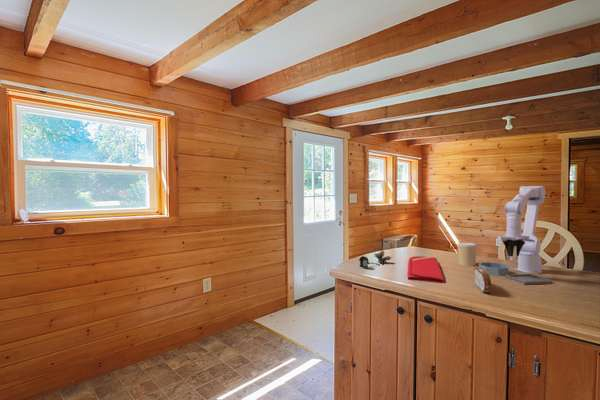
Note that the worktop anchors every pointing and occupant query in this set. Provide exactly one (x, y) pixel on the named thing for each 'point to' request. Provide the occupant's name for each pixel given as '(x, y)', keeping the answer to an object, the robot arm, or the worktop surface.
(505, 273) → the blue-grey octagonal bowl
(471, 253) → the coffee cup
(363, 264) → the artificial flower
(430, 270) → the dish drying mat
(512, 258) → the dowel pin
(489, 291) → the tin
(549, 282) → the tray
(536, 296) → the worktop surface
